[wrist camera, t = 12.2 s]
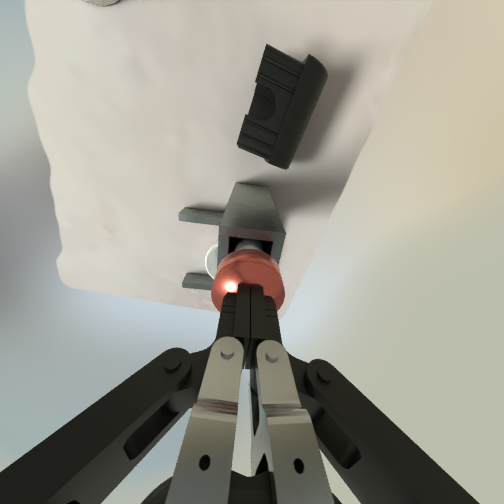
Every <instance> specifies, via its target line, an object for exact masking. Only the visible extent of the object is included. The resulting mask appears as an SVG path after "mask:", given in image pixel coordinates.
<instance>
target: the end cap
mask: <svg viewBox="0 0 504 504" xmlns="http://www.w3.org/2000/svg"><path fill="white" fill-rule="evenodd" d="M326 80H327V71H326V69H325V67H324V66H323V65H322V63H320V62H319V61H318V60H317V59H316V58H315V57H313V56H311V55H310V54H309V55H308V56H307V58H306V59H305V61H304V62H303V63H301V62H300V61H298V60H296V59H294V58H292V57H290V56H289V55H287V54H285V53H283V52H281V51H279V50H277V49H276V48H274V47H272V46H270V45H268V44H266V47H265V50H264V54H263V57H262V60H261V64H260V67H259V71H258V74H257V77H256V81H255V82H256V83H257V85H256V88H255V93H254V97H253V100H252V103H251V107H250V110H249V113H248V115H247V114H245V118H244V121H243V124H242V128H241V131H240V135H239V138H238V141H237V145H238V147H239V148H241V149H243V150H246V151H248V152H250V153H253V154H255V155H257V156H260V157H262V158H265V161H266V162H267V163H269V164H272V165H274V166H277V167H279V168H282V169H285V170H286V169H288V168H289V165H290V163H291V161H292V159H293V156H294V154H295V152H296V149H297V147H298V145H299V142H300V140H301V138H302V135H303V133H304V131H305V129H306V126H307V124H308V122H309V119H310V117H311V115H312V112H313V110H314V108H315V105H316V103H317V101H318V99H319V96H320V94H321V92H322V89H323V87H324V85H325V82H326Z"/></svg>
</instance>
